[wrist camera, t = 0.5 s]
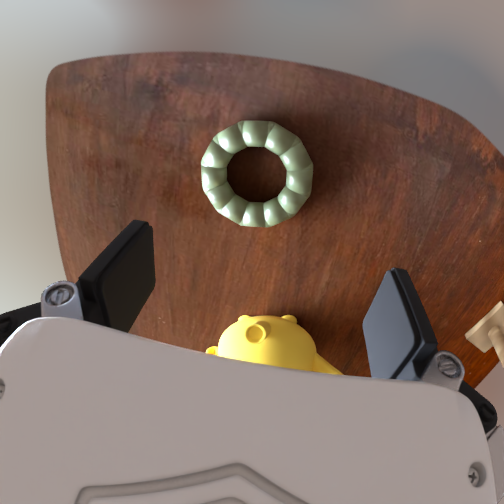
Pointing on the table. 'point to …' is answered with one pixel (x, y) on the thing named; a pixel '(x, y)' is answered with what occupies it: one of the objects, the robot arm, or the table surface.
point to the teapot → (272, 344)
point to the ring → (278, 143)
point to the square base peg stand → (490, 332)
